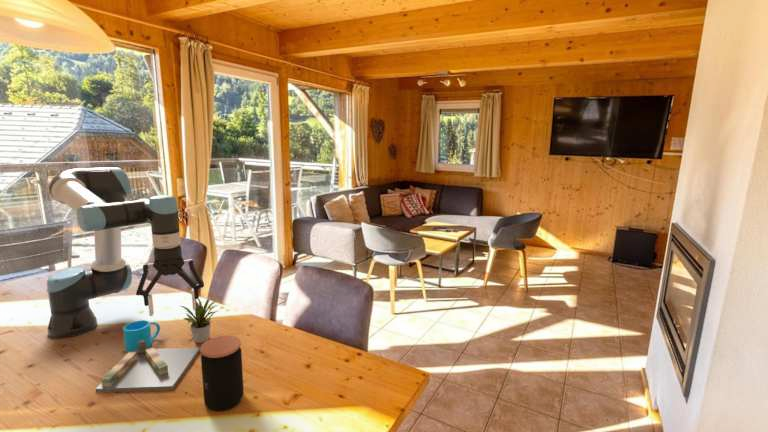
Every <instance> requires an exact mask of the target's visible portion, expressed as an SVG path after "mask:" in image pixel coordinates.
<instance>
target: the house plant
mask: <svg viewBox="0 0 768 432" xmlns="http://www.w3.org/2000/svg"><path fill="white" fill-rule="evenodd" d="M211 297H212V296H209V297H208V298H207V299H206V300H205V303H204V305H203V302H201V299H200V298H198V299H195V301H196V310H194V313H193V312H192V311H191V310H190V309H189V308H188V307H186V306H183V305H180V307H181V308H183V309H184V310H186V311H185V312H187V313H185V315H186V316H187V317H185V318H183V320H185V321H187V324H188V323H191V324H190V325H189V328H190V332H191V334H192V338H193V342H194V343H197V344H198V343H200V344H203V343H204V342H206V341H208V340H209V339H210V336H211V335H210V333H211V325H212V322H211V320H212V316H213V315H214V314H215V313H216V314H217V312H220V310H215V311H212V310H213V308H216V307H217V306H219V304H218V305H217V304H215V303H216V302H219V301H220V299H217V300H214V301H212V302H211V303H210V304H209V302H210V301H211V300H210V299H211ZM197 300H198V302H197ZM214 304H215V305H214ZM212 305H213V306H212ZM211 306H212V307H211ZM208 310H209V311H208ZM210 314H211V315H210ZM208 316H209V317H208Z"/></svg>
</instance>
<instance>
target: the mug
mask: <svg viewBox="0 0 768 432" xmlns="http://www.w3.org/2000/svg"><path fill="white" fill-rule="evenodd" d="M151 325H152V326H153V325H154V326H155V327H156V331H155V333H154V335H152V331H151ZM122 329H123V336H124V337H123V338H124V345H125V351H126V352H133V351H134V350H135V349H138V341H141V340H145V341H146V349H149V348H151V346H152V344H153V340H154V339H155V338H156V337H157V336H158V335H159V333H160V331H161V326H160V324H158V323H157V322H154V321H151V322H150V321H148V320H141V319H140V320H136V321H135V320H134V321H132V322H128V323H127V324H125V325H124V326H123V327H122Z"/></svg>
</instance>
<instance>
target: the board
mask: <svg viewBox="0 0 768 432" xmlns="http://www.w3.org/2000/svg"><path fill="white" fill-rule="evenodd" d="M200 348H201V347H176V348H169V347H168V348H155V350H156V351H157V352H158V354H159V355H160V356H161V357H162V359H163V360H164V361H165V363H166V364H167V365H168V373H165V374H163V375H160V376H159V374H158V373H157V371H156V370H155V368H154V367H153V366H152V364H151V363H150V361H149V360H148V358H147V357H146V356H144V357H137V360H136V361H135V362H134V363H133V364H132V365H131V366H130V367H129V368H128V369H127V370H126V371H125V372H124V373H123V374H122V375H121V376H120V377H119V378H118V379H117V381H116V382H115V383H114V384H113V385H112V386H106V387H102V382H101V383H100V384H99V385H98V386H97V387H96V388H95V393H117V392H120V393H121V392H143V391H145V392H147V391H150V392H151V391H173V390H174V389H175V387H176V386H177V385H178V383H179V381H180V380H181V379H182V378H183V376H184V375H185V373H186V371H187V370H188V369H189V367H190V366H191V364H192V363H193V362H194V360H195V359H196V357H197V356H198V354H199V353H201V350H200ZM133 352H138V349H135V350H134V351H133Z"/></svg>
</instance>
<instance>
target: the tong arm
mask: <svg viewBox="0 0 768 432" xmlns="http://www.w3.org/2000/svg"><path fill="white" fill-rule="evenodd" d="M155 349H156V348H155V347H154V346H153V347H148V348H147V349H146V350H145V351H146V357H147V358H148V360H149V361H150V363H151V364H152V366H153V367H154V368H155V370H156V371H157V373H158V374H159V376H160V375H163V374H165V373H168V365H167V364H166V363H165V361H164V360H163V359H162V357H161V356H160V355H159V354H158V352H157V351H156V350H155Z"/></svg>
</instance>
